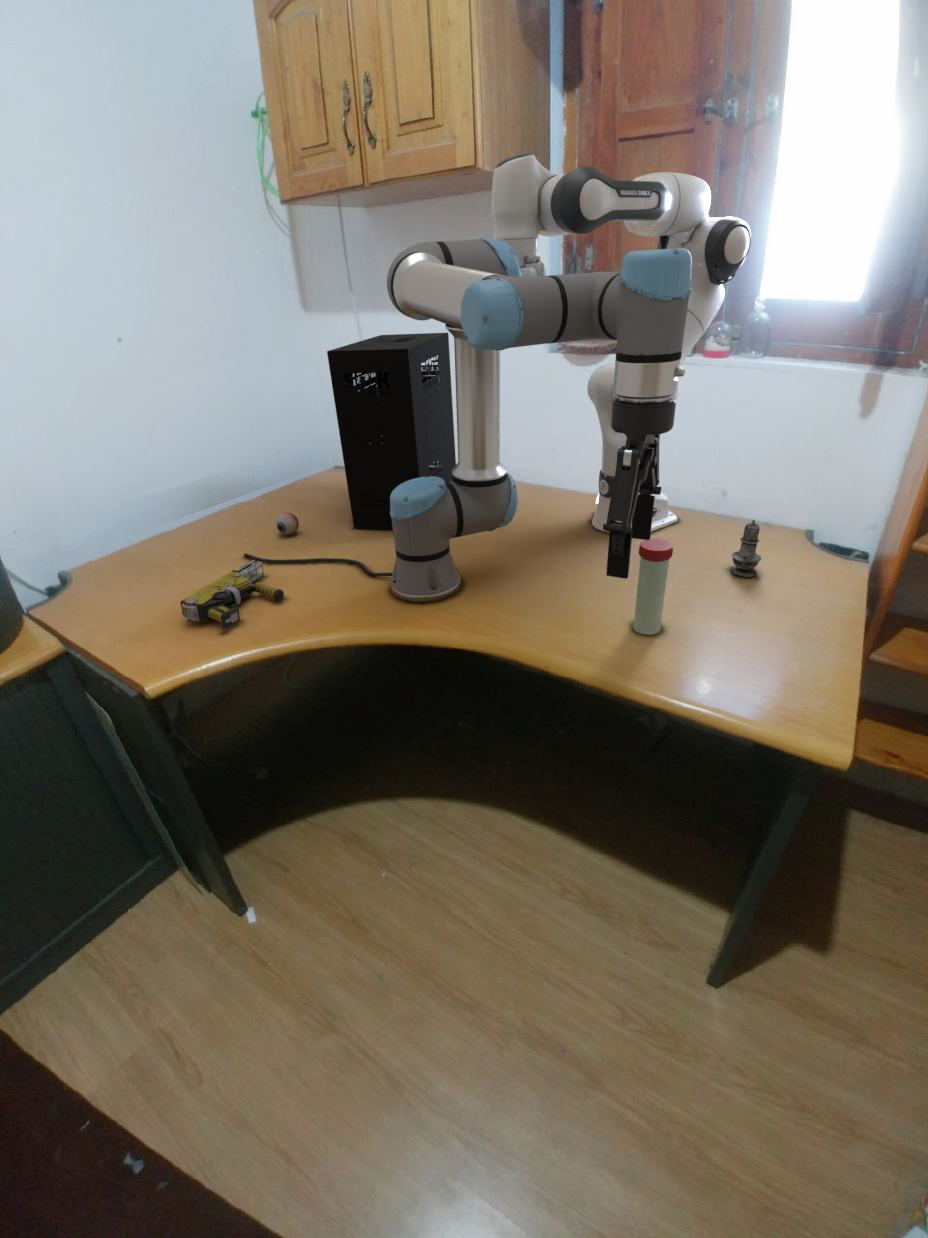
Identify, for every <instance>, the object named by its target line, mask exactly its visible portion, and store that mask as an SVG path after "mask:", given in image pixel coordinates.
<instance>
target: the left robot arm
mask: <svg viewBox="0 0 928 1238" xmlns="http://www.w3.org/2000/svg"><path fill="white" fill-rule="evenodd" d="M691 265H692V257H691V254H690V252H689V251H688V250H686V249H683V248H676V249H658V250H657V249H644V250H634V251H633V250H631V251H628V252H627V253H626V254H625V255H624V256H623V258H622V264H621V270H620V271H601V270H594V271H583V272H579V273H567V274H566V273H565V274H553V275H547V276H543V277H521V271H520V267H519V263H518V260H517V258H516V256H515V254H514V252H513V250H512V249H511V247H510V246H509V245H508V244H507V243H505V242H503V241H501V240H493V238H492V239H489V238H483V237H482V238H477V239H476V238H475V239H459V240H441V241H434V240H432V241H422V242H418V243H416V244H413V245H410V246H408V247H406V248H405V249H403V250H402V251H401V252H400V253H398V254H397V255H396V257H395V258H394V259H393V261H392V262H391V264H390V266H389V269H388V271H387V276H386V289H387V293H388V297H389V300H390V301H391V303H392V305H393V307H395V309H396V310H397V311H398V312H399V313H400V314H402V315H404V316H405V317H407V318H410V319H413V320H415V321H428V320H434V321H437V322H440V323H443V324H445V329H446V330H447V331H448V333H450V334H451V336H452V337H453V347H454V349H453V350H454V373H455V375H454V376H455V379H454V380H455V403H456V404H455V405H456V432H457V434H456V435H457V436H456V437H457V456H458V457H457V460H458V461H457V462H456V465H455V466H454V467H453V469H452V471H451V473H452V481H451V482H448V483H445V481H444V480H443V479H442V478H440V477H434V476H429V477H419V478H415V479H411V480H409V481H406V482H404V483H402V484H400V485H398V486H397V487H396V488H395V489H394V490H393V491H392V493H391V496H390V516H391V518H392V526H393V530H392V535H393V543H394V551H395V560H394V561H395V562H394V565H393V570H392V572H375V571H370V569H369V568H367V566H366V564H364V563H362V562H360V561H358V560H354V559H350V558H334V557H333V558H332V557H331V558H329V557H325V558H324V557H319V558H299V559H297V558H296V559H294V558H293V559H291V558H290V559H268V558H262V557H259V556H258V557H257V556H256V555H255V556H254V555H252V554H249V553H246V552H245V553H244V554H243V556H244V557H246V558H247V559H251V560H255V561H256V562H257V561H260V562H262V563H270V564H293V563H294V564H296V563H297V564H298V563H300V564H301V563H321V562H325V563H329V562H330V563H349V564H353V565H356V566H359V567H361V568H362V570H363V571H364V573H367V575H370V576H372V577H391V578H390V586H391V593H392V594H393V595H394V596H395V597H396V598H398V599H399V600H402V601H405V602H411V603H432V602H437V601H438V602H439V601H441V600H444V599H447V598H449V597H451V596H453V595H454V594H456V593H457V592H458V591H459V589H460V588H461V576H460V572H459V569H458V568H457V565H456V563H455V561H454V559H453V556H452V554H451V548H450V540H451V539H455V538H460V537H461V538H462V537H465V536H471V535H475V534H479V533H484V532H485V533H486V532H493V531H495V530H497V529H500V528H504V527H506V526H508V525H509V524H510V523H511V522H512V521H513V520H514V517H515V516H516V513H517V510H518V502H519V501H518V498H519V497H518V496H519V494H518V490H517V488H516V487H517V484H516V480H515V479H514V478H513V476H512V475H511V474H510V473H509V472H508V469H507V467H506V466H505V465H504V464H503V463H502V462H501V351H505V350H506V349H513V348H520V347H521V348H522V347H530V346H537V345H538V346H539V345H546V344H547V345H549V344H557V343H570V342H577V341H578V342H579V341H587V340H609V341H616V352H615V362H614V363H615V373H614V385H613V393H614V394H615V395H616V396H618V397H617V398H615V400H614V401H613V404H612V418H611V427H612V429H613V430H614V431H616V432H618V433H623V434H625V435H626V436H627V440H626V444H625V446H622V448H621V449H619V450H618V452H617V464H616V472H615V477H614V483H613V488H612V494H611V499H610V505H609V511H608V516H607V522H606V524H603V530H606V531H609V532H608V533H609V534H608V548H607V558H606V559H607V561H606V577H613V578H619V579H624V580H625V579H626V580H628V578H629V572H630V562H631V552H632V540H633V539H635V540H642V541H643V540H650V539H651V535H652V532H651V526H652V517H653V508H654V499H655V496H652V494H656V495H660V493H662V486H659V485H660V441H661V440H660V439H661V435H662V434H667V433H668V432H670V431H671V430H672V429H673V428H674V424H675V415H676V406H677V400H676V401H675V399H674V398H673V397H671V396H673V395H674V394H675V393H676V392H677V387H678V385H679V378H680V377H684V376H685V374H686V370H685V368H684V367H680V368H678V367H679V364H680V358H681V355H682V352H681V351H682V347H683V340H684V332H685V324H686V316H687V309H688V301H689V296H690V293H691V288H690V283H691ZM639 493H640V494H639ZM616 521H621V522H616ZM631 524H632V528H631Z"/></svg>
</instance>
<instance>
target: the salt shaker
mask: <svg viewBox="0 0 928 1238" xmlns="http://www.w3.org/2000/svg"><path fill="white" fill-rule="evenodd" d="M760 530H761V527H760V525H759V524H757V523H756V519H752V520H751V522H749V523H746V525H744V529H743V534H742V537H741V538H740V541H741V543H740V548H739V550H737V551H734V552H732V553H731V557H732V563H733V565H734V566H732V567H731V568H730V572H731V573H732V574H734V575H735V576H738V577H743V578H750V577H754V576H756V575H757V574H758V571H757V569H755V568H756V567H758V565H759V563H760V561H761V560H762V555H760V554H758V553H757V547H758V543H760V540H759V535H760Z"/></svg>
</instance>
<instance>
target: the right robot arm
mask: <svg viewBox="0 0 928 1238" xmlns="http://www.w3.org/2000/svg"><path fill="white" fill-rule="evenodd" d="M711 200H712V194H711V189H710V186H709V185H708V183H707V182H706V181H705V180H704V179H703V178H701V177H698V176H695V175H692V174H689V173H682V172H675V171H673V172H672V171H660V172H659V171H658V172H651V173H646V174H641V175H640V176H637V177H635V178H633V179H632V180H624V179H623V180H621V179H613V178H610V177H609V176H607V175H606V174H604V173H603V172H601V171H600V170H599V169H596V168H594V167H592V166H585V165H584V166H579V167H577V168H575V169H573V170H569V171H568V172H566V173H565V172H564V173H562V174H559V175H558V174H556V173H554V172H552V171H551V170H549V169H547V168H546V167H545V166H543V165H542V163H540V161H539V160H538V159H537V157H536V156H535V153H531V152H525V153H520V154H517V155H513V156H509V157H507V158H504V159H501V160H500V161H499V162H497V164H496V165H495V167H494V170H493V174H492V183H491V216H492V220H493V227H494V228H493V235H492V240H501V241H503V242H505V243H507V244H508V245H509V246H510V247H511V249H512V250H513V252H514V254H515V256H516V258H517V260H518V263H519V267H520V271H521V277H543V276H548V273H547V269H546V268H545V263H544V262H543V260H542V258H541V256H539V236H542V237H546V238H547V237H549V238H550V237H557V236H558V237H560V236H566V235H567V236H568V235H585V234H586V235H587V234H589V233H592V232H594V231H595V230H597V229H598V228H600V227H602V226H603V225H605V224H606V223H608V222H623V224H624V226H625V227H626V230H628V232H629V233H631V234H634V235H639V236H645V237H658V242H657V248H656V250H658V249H676V248H683V249H686V250H688V251H689V252H690V254H691V257H692V265H691V283H690V288H691V293H690V296H689V301H688V309H687V316H686V324H685V332H684V340H683V347H682V351H681V352H682V355H681V358H680V364H679V367H678V368H681V366H682V365H683V363H684V361H685V359H686V358H687V357H688V355H689V354H690V353H691V352H692V350H693V348H694V347H695V346H696V345H697V343H698V342H699V340H701V338H702V337H703V336H704V335H705V333H706V331H707V330H708V328H709V327H710V325H711V324H712V322H713V321H714V319H715V318H716V316H717V315H718V313H719V311H720V309H721V307H722V305H723V303H724V300H725V288H724V285H725V284H727V283H729V282H730V281H732V280H733V279H734V278H735V275H736V274H737V271H738V270H739V269H740V268H741V267H742V265H743V263H744V262H745V260H746V258H747V256H748V254H749V252H750V249H751V243H752V231H751V228H750V225H749V224H748V223H747V222H746V221H745V220H743V219H741V218H738V217H736V216H724V217H710V215H709V210H710V207H711ZM614 373H615V362H613V363H607V364H604V365H601V366H597V368H595V369H594V371H593V372H591V374H590V376H589V378H588V380H587V395H588V398H589V399H590V401H591V402H592V404H593V406H594V408H595V411H596V414H597V417H598V418H597V419H598V421H599V427H600V432H601V440H602V447H601V448H602V449H601V450H602V451H601V468H600V470H599V474H598V492H599V493H598V495H597V497H596V500H595V504H596V507H595V511H594V514H593V517H592V520H591V525H592V526H593V527H594V528H595V529H597V530H599V531H601V532H605V533H610V532H609V531H606V530H603V524H606V522H607V516H608V511H609V505H610V499H611V494H612V488H613V483H614V477H615V472H616V464H617V452H618V450H619V449H621V448H622V446H625V444H626V440H627V436H626V435H625V434H623V433H618V432H616V431H614V430H613V429H612V427H611V418H612V404H613V401H614V400H615V398H617V397H618V396H616V395H615V394H614V393H613V385H614ZM678 388H679V387H678V386H677V392H676V393H675V394H674V395H673V396H671V397H673V398H674V399H675V401H676V402H677V399H678V395H679V389H678ZM639 494H640V493H639ZM652 496H655V499H654V508H653V517H652V526H651V533H652V532H654V531H657V530H660V529H662V528H665V527H668V526H670V525H672V524H675V523H677V522H678V516H677V515H676V514H675V513H674V512H672V511H670V503H669V502H670V501H669V498H668V497H667V496H666V495H665V494H664V493H663V492H661V493H660V495H656V494H652ZM616 522H621V521H616ZM631 528H632V524H631Z"/></svg>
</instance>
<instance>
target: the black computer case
mask: <svg viewBox="0 0 928 1238" xmlns="http://www.w3.org/2000/svg"><path fill="white" fill-rule="evenodd" d="M326 354H327V360H328V369H329V373H330V380H331V387H332V393H333V400H334V406H335V415H336V420H337V426H338V427H337V428H338V433H339V439H340V440H339V441H340V448H341V454H342V460H343V466H344V472H345V478H346V486H347V493H348V500H349V506H350V511H351V520H352V525H353V529H360V530H361V529H362V530H363V529H364V530H366V529H367V530H389V531H393V526H392V518H391V516H390V496H391V493H392V491H393V490H394V489H395V488H396V487H397V486H398V485H400V484H402V483H404V482H406V481H409V480H411V479H415V478H419V477H429V476H434V477H440V478H442V479H443V480H444V481H445V483H448V482H451V481H452V473H451V471H452V469H453V467H454V466H455V465H456V464H457V459H456V441H455V424H454V407H453V391H452V390H453V389H452V388H453V387H452V375H451V373H452V372H451V358H450V357H451V356H450V355H451V354H450V341H449V332H427V333H400V334H399V333H397V334H395V333H394V334H379V335H377V336H373V337H370V338H367V339H363V340H359V341H356V342H353V343H350V344H347V345H342V346H340V347H336V348H333V349H330V350H327V351H326ZM429 361H430V362H429ZM436 363H437V364H436Z"/></svg>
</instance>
